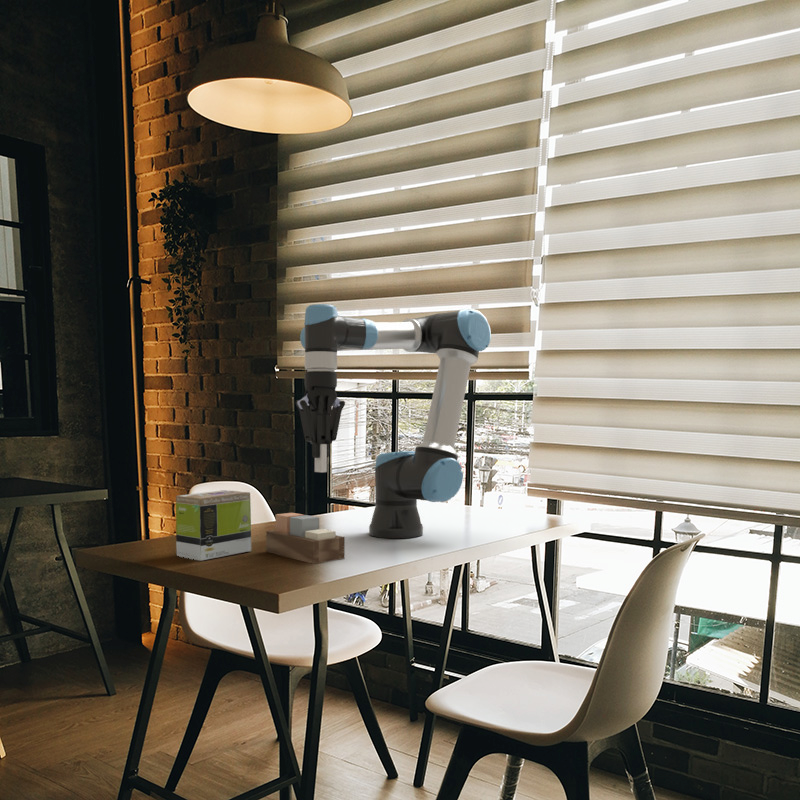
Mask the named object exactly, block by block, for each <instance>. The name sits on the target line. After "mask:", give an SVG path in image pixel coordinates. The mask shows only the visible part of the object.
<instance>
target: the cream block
mask: <svg viewBox="0 0 800 800" xmlns="http://www.w3.org/2000/svg"><path fill="white" fill-rule="evenodd" d="M335 535H336V531H335V530H330V529H324V528H319V529H318V530H310V531H305V538H309V539H313V540H324V539H331V538H335Z"/></svg>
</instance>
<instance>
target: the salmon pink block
mask: <svg viewBox="0 0 800 800" xmlns="http://www.w3.org/2000/svg"><path fill="white" fill-rule="evenodd" d="M296 516H305V514H301V513H298V512H297V513H295V512H287V513H286V512H285V513H277V514H275V523H274V524H275V529H274V530H275V531H277V532H281V533H286V534H288V533H290V517H296Z"/></svg>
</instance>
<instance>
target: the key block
mask: <svg viewBox="0 0 800 800" xmlns="http://www.w3.org/2000/svg"><path fill="white" fill-rule="evenodd" d="M265 532H266V535H265V536H266V538H265V539H266V541H265V542H266V548H265V549H266V550H265V551H266V553H270V554H273V555H277V556H282V557H286V558H289V559H293V560H297V561H301V562H306V563H308V564H313V565H314V564H320V563H325V562H331V561H332V562H333V561H337V560H342V559H343V560H344V559H345V556H346V555H345V553H346V552H345V547H346V546H345V545H346V544H345V536H341V535H336V534H335V538H331V539H324V540H313V539H309V538H305V537H300V536H295V535H290V533H288V534H286V533H281V532H277V531H275V529H273V530H267V531H265Z"/></svg>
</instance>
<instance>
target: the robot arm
mask: <svg viewBox="0 0 800 800" xmlns="http://www.w3.org/2000/svg"><path fill="white" fill-rule="evenodd" d="M303 323H304V325H303V328H302V329H301V331H300V336H299V338H300V339H299V340H300V344H301V347H302V348H303V349H304V369H305V370H306V372H305V373H304V387H305V392H304V396H303V397H302V398H301V399H299V400H298V399H297V400H295V405H296V407H297V409H298V411H299V416H300V417H299V418H300V422H301V426H302V427H301V428H302V431H303V432H302V433H303V436H304V440H305V442H308V443H309V444H311V446H312V451H311V452H312V454H311V455H312V458H314V473H327V472H328V465H327V464H328V461H327V459H328V458H329V457H330V445H331V444H332V443H333V442H334V441H336V440H337V436H338V431H339V426H340V422H341V421H340V420H341V418H342V417H341V415H342V411H343V409H344V407H345V405H346V402H345V401H344V400H340V399H339V397H338V393H337V391H336V388H337V387H338V374H337V372H336V370H337V369H338V352H344V351H347V352H348V351H368V350H369V351H373V350H374V351H375V350H378V351H379V350H404V351H405V352H409V353H426V354H427V353H428V354H436V355H437V357H438V358H439V363H438V364H439V365H438V370H437V374H436V379H435V384H434V388H433V392H432V396H431V397H432V398H431V402H430V406H429V412H428V417H427V421H426V426H425V430H424V435H423V439H422V440H423V441H422V442H421V443H420V444H417V446H415V450H404V451H394V452H393V451H392V452H391V451H390V452H384V453H379V454H378V455H377V456H376V459H375V467H374V475H375V476H374V477H375V478H374V480H375V481H374V482H375V487H374V488H375V489H374V490H375V494H374V495H375V497H374V498H375V507H374V510H373V514H372V518H371V521H370V524H369V526H368V533H369V536H371V537H375V538H383V539H384V538H385V539H410V538H416V537H420V536H422V535H424V533H423V532H424V525H423V524H422V522H421V517H420V514H419V510H418V507H417V506H418V503H417V502H418V501H419V500H421V501H428V502H431V503H438V502H439V503H443V502H448V501H450V500H451V499H453V498H454V497H455V496H456V495H457V494H458V492H459V491H460V489H461V488H462V487H461V486H462V485H463V484H462V483H463V479H464V472H463V470H462V465H461V463H460V462H459V461H458V459H459V455H458V453H457V452H456V450H455V446H456V445H455V444H456V439H457V433H458V430H459V424H460V420H461V419H460V418H461V415H462V410H463V405H464V401H465V396H466V390H467V386H468V382H469V381H468V380H469V375H470V371H471V367H472V366H473V365H474V364H476V363H477V362H478V358H479V354H480V352H482V351H484V350H486V349H487V348H488V347H489V345H490V343H491V337H492V335H491V334H492V333H491V327H490V326H491V325H490V324H489V322H488V319H487V317H486V316H485V315H484V314H483V313H482V312H481V311H479V310H477V309H465V308H464V309H461V310H455V311H450V312H449V311H447V312H441V313H435V314H430V315H426V316H420V317H415V318H414V317H413V318H411V317H410V318H406V319H403V320H402V321H383V322H382V321H380V322H379V321H378V322H377V321H376V322H375V321H373V320H372V319H367V318H364V317H354V316H353V317H351V316H350V317H349V316H344V315H343V316H342V315H339V314H338V308H337V306H335V305H333V304H329V303H328V304H326V303H325V304H324V303H321V304H320V303H316V304H310V305H308V306H307V307H306V308H305V312H304V322H303ZM417 500H418V501H417Z"/></svg>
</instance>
